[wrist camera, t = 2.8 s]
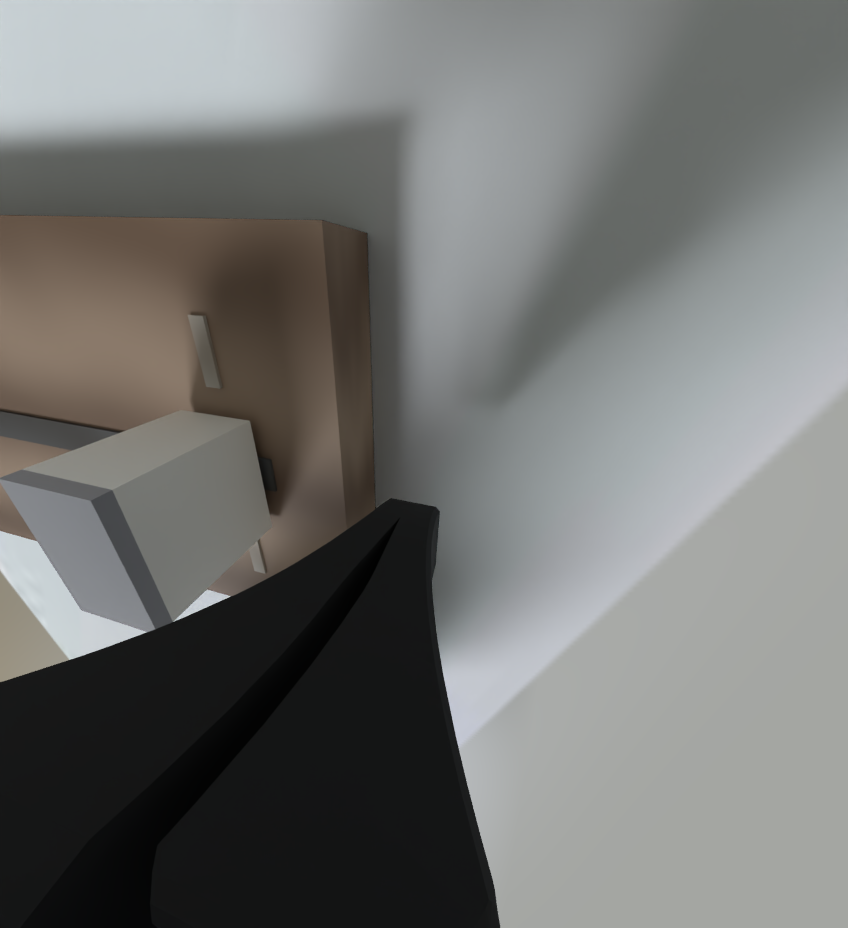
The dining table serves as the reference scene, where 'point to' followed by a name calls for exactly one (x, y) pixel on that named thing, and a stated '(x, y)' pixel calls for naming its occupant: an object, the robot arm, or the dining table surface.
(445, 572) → the dining table surface
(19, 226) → the slider board
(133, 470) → the fader tab
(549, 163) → the dining table surface
